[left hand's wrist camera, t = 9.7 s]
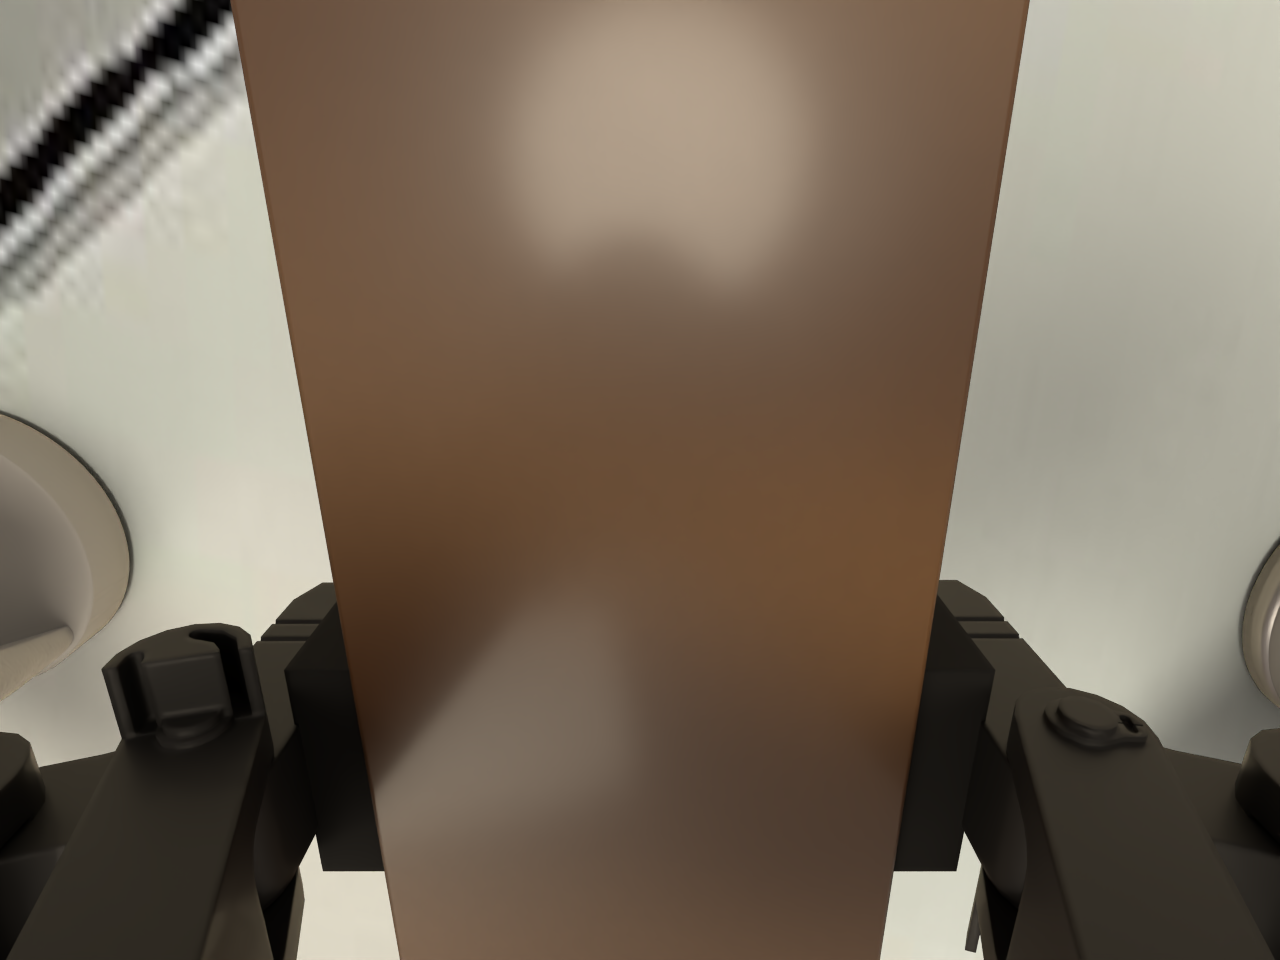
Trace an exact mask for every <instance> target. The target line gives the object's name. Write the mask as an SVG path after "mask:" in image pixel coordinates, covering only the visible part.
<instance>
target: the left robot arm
mask: <svg viewBox="0 0 1280 960" xmlns="http://www.w3.org/2000/svg"><path fill="white" fill-rule="evenodd" d="M1242 646H1243V653H1244V658H1245V662H1246V665H1247V668H1248V670H1249V673H1250V675H1251V677H1252V679H1253V681H1254V682H1255V684H1256V686H1257V687H1258V688H1259V689H1260V691H1261V692H1262V693H1263V694H1264V695H1265V696H1266V697H1267V698H1268V699H1269V700H1270V701H1271V702H1272V703H1273V704H1275V705H1276V706H1277V707H1279V708H1280V544H1279V546H1278V547H1277V548H1276V549H1275V551H1274V552H1273V553H1272V555H1271V556H1270V558H1269V559H1268V561H1267V562H1266V564H1265V565H1264V567H1263V569H1262V571H1261V573H1260V574H1259V576H1258V578H1257V580H1256V582H1255V584H1254V587H1253V589H1252V591H1251V594H1250V597H1249V600H1248V603H1247V606H1246V610H1245V615H1244V620H1243V628H1242ZM102 673H103V676H104V679H105V683H106V686H107V690H108V693H109V696H110V700H111V703H112V707H113V710H114V713H115V717H116V720H117V724H118V727H119V730H120V734H121V737H122V740H121V742H120V744H119V745H118V747H117V749H116V751H115V752H111V753H107V754H103V755H98V756H93V757H88V758H83V759H78V760H73V761H68V762H63V763H58V764H53V765H48V766H43V767H38V764H37V762H36V759H35V756H34V753H33V750H32V747H31V744H30V742H28V741H27V740H26V739H24V738H23V737H22V736H20V735H19V734H15V733H5V732H0V960H296V958H297V951H298V944H299V937H300V930H301V923H302V915H303V908H304V901H305V900H304V891H303V884H302V879H301V874H300V869H299V865H300V863H301V861H302V859H303V857H304V856H305V854H306V852H307V850H308V848H309V846H310V844H311V842H312V840H313V838H314V836H315V834H316V838H317V843H318V848H319V853H320V858H321V864H322V869H323V871H384V866H383V860H382V854H381V849H380V843H379V837H378V832H377V826H376V820H375V815H374V809H373V803H372V798H371V792H370V787H369V781H368V775H367V770H366V764H365V758H364V753H363V747H362V741H361V736H360V730H359V724H358V719H357V713H356V707H355V702H354V696H353V690H352V685H351V679H350V673H349V668H348V662H347V656H346V651H345V645H344V639H343V634H342V628H341V623H340V617H339V611H338V606H337V600H336V594H335V589H334V583H321V584H319V585H318V586H316V587H314V588H313V589H311V590H309V591H308V592H306V593H304V594H303V595H301V596H299V597H298V598H296V599H294V600H293V601H292V602H291V603H290V604H289V606H288V607H287V608H286V609H285V610H284V611H283V612H282V614H281V615H280V616H279V617H278V618H277V619H276V624H272V625H271V626H270V627H269V628H268V629H267V631H266V632H265V633H264V634H263V635H262V636H261V641H257V642H256V643H255V644H254V645H252V640H251V635H250V634H248V633H247V632H246V631H244V630H243V629H242V628H240V627H238V626H233V625H228V624H222V623H210V624H194V625H189V626H185V627H180V628H175V629H171V630H166V631H164V632H161V633H158V634H156V635H153V636H150V637H148V638H145V639H143V640H140V641H138V642H136V643H135V644H133V645H131V646H129V647H128V648H126V649H124V650H123V651H121V652H119V653H118V654H116V655H115V656H114V657H113V658H112V659H111V660H110V661H109V662H108V663H107V664H106V665H105V666H104V667H103V668H102ZM964 832H965V834H966V836H967V837H968V839H969V841H970V843H971V845H972V847H973V849H974V851H975V853H976V855H977V857H978V859H979V861H980V862H981V869H980V874H979V879H978V884H977V888H976V893H975V898H974V903H973V907H972V912H971V917H970V922H969V927H968V931H967V938H966V946H965V950H967V951H971V952H975V953H976V949H977V944H978V940H979V935H981V942H982V949H983V957H984V960H1280V728H1278V729H1269V730H1262V731H1260V732H1259V733H1258V734H1256V735H1255V736H1254V737H1252V738H1251V739H1250V742H1249V745H1248V747H1247V750H1246V753H1245V756H1244V759H1243V762H1242V764H1239V763H1234V762H1229V761H1224V760H1219V759H1214V758H1209V757H1204V756H1199V755H1194V754H1189V753H1184V752H1179V751H1175V750H1171V749H1167V748H1163V746H1162V744H1161V742H1160V740H1159V738H1158V737H1157V736H1156V735H1155V733H1154V732H1153V731H1152V730H1151V729H1150V727H1149V726H1148V725H1147V724H1146V723H1145V721H1143V720H1142V719H1140V718H1139V717H1137V716H1136V715H1135V714H1133V713H1132V712H1130V711H1129V710H1127V709H1126V708H1124V707H1123V706H1121V705H1119V704H1116V703H1114V702H1112V701H1109V700H1107V699H1105V698H1103V697H1100V696H1098V695H1095V694H1091V693H1087V692H1083V691H1079V690H1075V689H1071V688H1066V687H1065V686H1064V684H1063V683H1062V682H1061V681H1060V680H1059V679H1058V678H1057V677H1056V675H1055V674H1054V673H1053V672H1052V671H1051V670H1050V669H1049V668H1048V666H1047V665H1046V664H1045V663H1044V662H1043V661H1042V660H1041V659H1040V657H1039V656H1038V655H1037V654H1036V653H1035V652H1034V651H1033V650H1032V648H1031V647H1030V646H1029V645H1028V644H1027V643H1026V642H1025V641H1024V639H1023V638H1019V634H1018V633H1017V631H1016V630H1015V629H1014V628H1013V627H1012V626H1011V625H1010V624H1009V622H1008V621H1004V617H1003V616H1002V615H1001V613H1000V612H999V611H998V610H997V609H996V608H995V607H994V606H993V604H992V603H991V602H990V601H989V600H988V599H987V598H986V597H985V596H983V595H981V594H980V593H978V592H976V591H975V590H973V589H971V588H970V587H968V586H966V585H964V584H963V583H961V582H959V581H958V580H939V584H938V590H937V597H936V603H935V609H934V616H933V622H932V629H931V635H930V641H929V648H928V654H927V661H926V667H925V673H924V680H923V686H922V693H921V699H920V705H919V712H918V718H917V725H916V731H915V737H914V744H913V750H912V757H911V763H910V769H909V776H908V782H907V789H906V795H905V801H904V808H903V814H902V821H901V827H900V833H899V840H898V846H897V853H896V859H895V865H894V871H956V870H957V865H958V860H959V855H960V850H961V845H962V840H963V834H964Z"/></svg>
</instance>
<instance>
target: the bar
mask: <svg viewBox="0 0 1280 960" xmlns="http://www.w3.org/2000/svg"><path fill="white" fill-rule="evenodd" d="M230 1H231V6H232V12H233V17H234V23H235V29H236V34H237V40H238V46H239V51H240V57H241V63H242V68H243V74H244V80H245V85H246V91H247V97H248V102H249V108H250V114H251V119H252V125H253V131H254V136H255V142H256V148H257V153H258V159H259V164H260V170H261V176H262V181H263V187H264V193H265V198H266V204H267V210H268V215H269V221H270V227H271V232H272V238H273V244H274V249H275V255H276V261H277V266H278V272H279V278H280V283H281V289H282V295H283V300H284V306H285V312H286V317H287V323H288V328H289V334H290V340H291V345H292V351H293V357H294V362H295V368H296V374H297V379H298V385H299V391H300V396H301V402H302V408H303V413H304V419H305V425H306V430H307V436H308V442H309V447H310V453H311V459H312V464H313V470H314V475H315V481H316V487H317V492H318V498H319V504H320V509H321V515H322V521H323V526H324V532H325V538H326V543H327V549H328V555H329V560H330V566H331V572H332V577H333V583H334V589H335V594H336V600H337V606H338V611H339V617H340V623H341V628H342V634H343V639H344V645H345V651H346V656H347V662H348V668H349V673H350V679H351V685H352V690H353V696H354V702H355V707H356V713H357V719H358V724H359V730H360V736H361V741H362V747H363V753H364V758H365V764H366V770H367V775H368V781H369V787H370V792H371V798H372V803H373V809H374V815H375V820H376V826H377V832H378V837H379V843H380V849H381V854H382V860H383V866H384V871H385V877H386V883H387V888H388V894H389V900H390V905H391V911H392V917H393V922H394V928H395V934H396V939H397V945H398V950H399V956H400V960H880V955H881V949H882V942H883V936H884V929H885V923H886V917H887V910H888V904H889V897H890V891H891V885H892V878H893V872H894V865H895V859H896V853H897V846H898V840H899V833H900V827H901V821H902V814H903V808H904V801H905V795H906V789H907V782H908V776H909V769H910V763H911V757H912V750H913V744H914V737H915V731H916V725H917V718H918V712H919V705H920V699H921V693H922V686H923V680H924V673H925V667H926V661H927V654H928V648H929V641H930V635H931V629H932V622H933V616H934V609H935V603H936V597H937V590H938V584H939V577H940V571H941V565H942V558H943V552H944V545H945V539H946V533H947V526H948V520H949V513H950V507H951V501H952V494H953V488H954V481H955V475H956V469H957V462H958V456H959V449H960V443H961V437H962V430H963V424H964V417H965V411H966V405H967V398H968V392H969V385H970V379H971V373H972V366H973V360H974V353H975V347H976V341H977V334H978V328H979V321H980V315H981V309H982V302H983V296H984V289H985V283H986V277H987V270H988V264H989V258H990V251H991V245H992V238H993V232H994V226H995V219H996V213H997V206H998V200H999V194H1000V187H1001V181H1002V174H1003V168H1004V162H1005V155H1006V149H1007V142H1008V136H1009V130H1010V123H1011V117H1012V110H1013V104H1014V98H1015V91H1016V85H1017V78H1018V72H1019V66H1020V59H1021V53H1022V46H1023V40H1024V34H1025V27H1026V21H1027V14H1028V8H1029V2H1030V0H230Z"/></svg>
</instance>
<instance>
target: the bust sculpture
mask: <svg viewBox="0 0 1280 960" xmlns="http://www.w3.org/2000/svg"><path fill="white" fill-rule="evenodd" d="M128 578H129V551H128V545H127V541H126V537H125V533H124V530H123V527H122V524H121V522H120V519H119V517H118V515H117V513H116V511H115V509H114V507H113V505H112V503H111V501H110V500H109V498H108V496H107V495H106V493H105V492H104V490H103V489H102V488H101V486H100V485H99V484H98V482H97V481H96V480H95V479H94V477H93V476H92V475H91V474H90V473H89V472H88V471H87V469H86V468H85V467H84V466H83V465H82V464H81V463H80V462H79V461H78V460H76V459H75V458H74V457H73V456H72V455H71V454H70V453H69V452H67V451H66V450H65V449H64V448H62V447H61V446H60V445H58V444H57V443H56V442H54V441H53V440H51V439H50V438H48V437H47V436H45V435H44V434H42V433H40V432H39V431H37V430H35V429H33V428H31V427H29V426H28V425H25V424H23V423H21V422H19V421H17V420H15V419H12V418H10V417H7V416H4V415H2V414H0V702H1V701H2V700H4V699H5V698H6V697H8V696H9V695H11V694H12V693H13V692H15V691H16V690H18V689H19V688H20V687H22V686H23V685H24V684H25V683H27V682H28V681H29V680H31V679H32V678H33V677H35V676H38V675H40V674H42V673H44V672H46V671H48V670H50V669H52V668H53V667H55V666H56V665H58V664H59V663H60V662H62V661H63V660H64V659H65V658H67V657H68V656H69V655H70V654H72V653H73V652H74V651H75V650H77V649H78V648H79V647H80V646H81V645H83V644H84V643H85V642H86V641H88V640H89V639H90V638H91V637H93V636H94V635H95V634H96V633H98V632H99V631H100V630H101V629H102V628H103V627H104V626H105V625H106V624H107V623H108V622H109V621H110V620H111V619H112V617H113V616H114V615H115V613H116V612H117V610H118V608H119V606H120V604H121V602H122V600H123V598H124V595H125V592H126V588H127V584H128Z"/></svg>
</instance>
